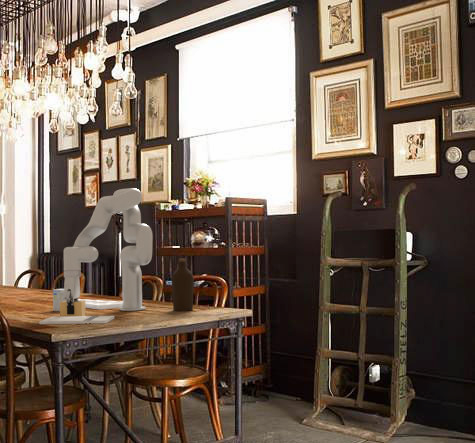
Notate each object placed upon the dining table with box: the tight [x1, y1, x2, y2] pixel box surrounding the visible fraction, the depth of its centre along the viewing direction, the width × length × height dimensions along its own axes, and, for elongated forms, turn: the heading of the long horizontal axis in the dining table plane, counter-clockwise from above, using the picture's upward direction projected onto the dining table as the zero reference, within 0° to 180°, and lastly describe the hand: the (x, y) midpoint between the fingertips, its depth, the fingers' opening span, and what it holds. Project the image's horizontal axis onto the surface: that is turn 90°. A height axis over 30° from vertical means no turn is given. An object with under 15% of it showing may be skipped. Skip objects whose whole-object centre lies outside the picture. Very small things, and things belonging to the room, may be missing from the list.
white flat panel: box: [39, 315, 115, 325], centre depth 277 cm, size 16×28×1 cm, turn 88°
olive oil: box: [171, 258, 195, 312], centre depth 312 cm, size 11×11×25 cm
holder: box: [78, 298, 123, 311], centre depth 344 cm, size 45×18×3 cm, turn 41°
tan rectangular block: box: [59, 301, 87, 316], centre depth 293 cm, size 6×10×7 cm, turn 88°
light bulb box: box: [52, 288, 72, 312], centre depth 320 cm, size 11×7×11 cm, turn 65°
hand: (72, 313), depth 293 cm, fingers closed on tan rectangular block, 6 cm apart
